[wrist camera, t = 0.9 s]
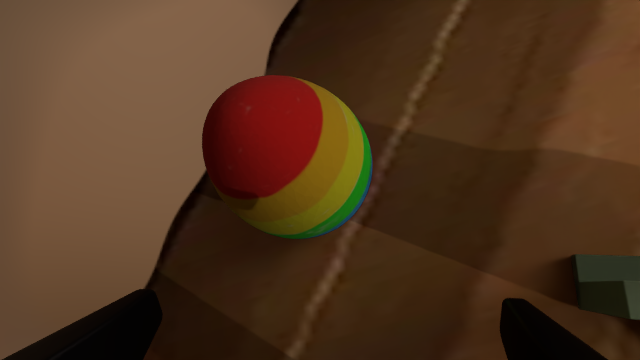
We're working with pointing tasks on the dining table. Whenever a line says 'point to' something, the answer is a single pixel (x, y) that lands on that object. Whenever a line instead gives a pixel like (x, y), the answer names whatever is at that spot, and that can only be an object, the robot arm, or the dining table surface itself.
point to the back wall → (608, 284)
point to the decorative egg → (287, 156)
